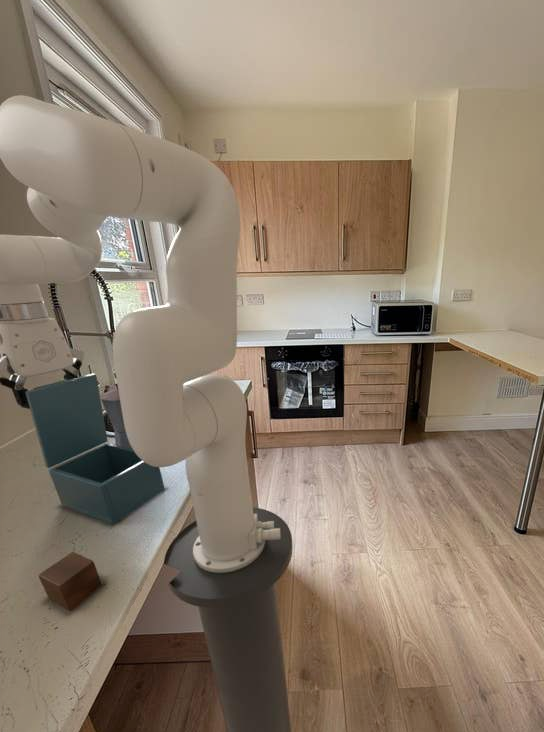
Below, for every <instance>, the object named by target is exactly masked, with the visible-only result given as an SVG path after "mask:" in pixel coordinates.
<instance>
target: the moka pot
mask: <svg viewBox="0 0 544 732" xmlns="http://www.w3.org/2000/svg"><path fill="white" fill-rule="evenodd" d="M114 386H115V387H113V386H112V387H111V386H110V385H105V386H104V389H103V393H102V394H100V400H101V404H102V406H103V407H104V410H105V413H106V414H107V416H108V420H109V422H110V424H111V426H112V428H113V430H114V431H113V434H114V441H115V442H114V443H115V444H114V445H118V446H122V447H126V448H130V449H132V447H131V445H130V443H129V440H128V437H127V434H126V430H125V426H124V421H123V415H122V409H121V403H120V397H119V391H118V385H117V383H115V384H114Z"/></svg>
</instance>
